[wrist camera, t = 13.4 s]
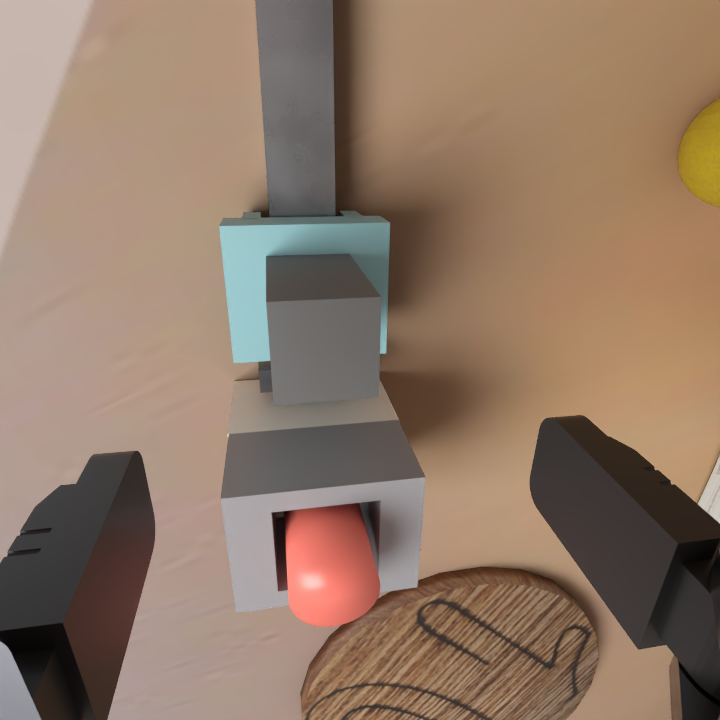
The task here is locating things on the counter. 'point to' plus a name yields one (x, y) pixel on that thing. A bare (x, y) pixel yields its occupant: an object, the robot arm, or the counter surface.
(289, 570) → the button
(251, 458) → the grey and white block
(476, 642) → the trivet
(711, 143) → the lemon
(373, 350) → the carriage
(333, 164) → the rail
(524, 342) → the counter surface
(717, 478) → the supplement box
